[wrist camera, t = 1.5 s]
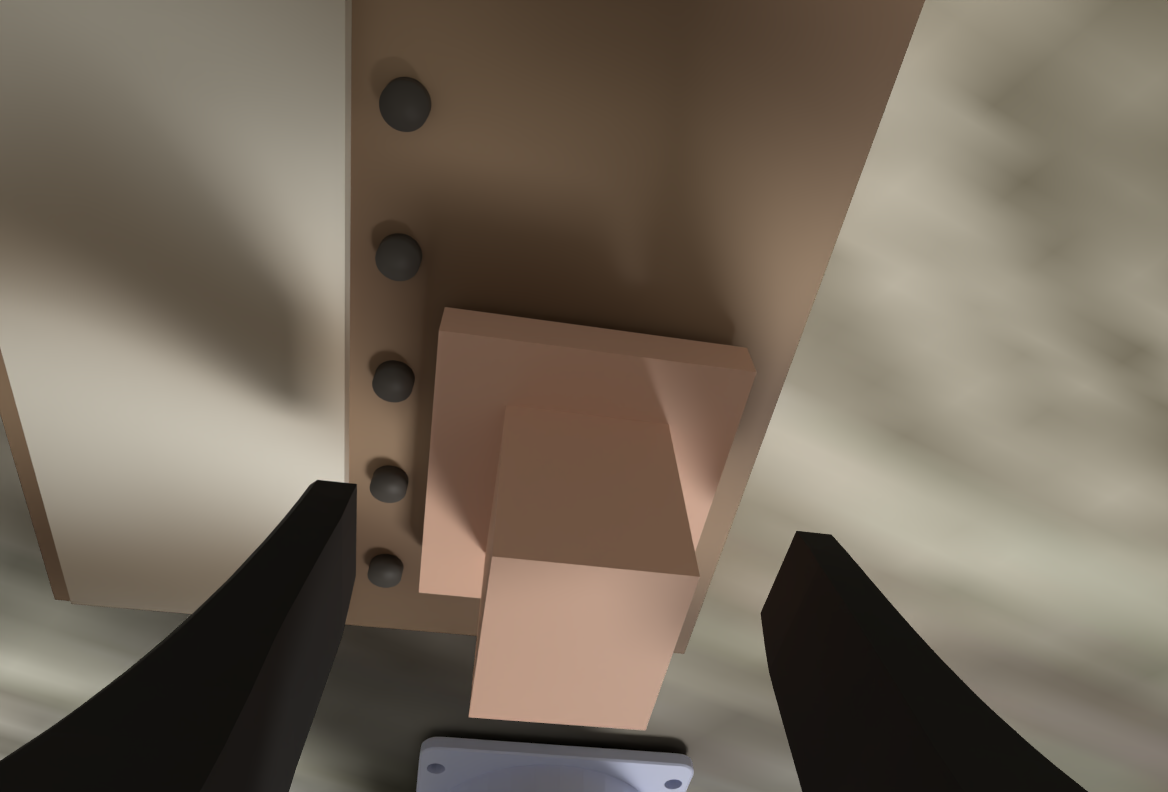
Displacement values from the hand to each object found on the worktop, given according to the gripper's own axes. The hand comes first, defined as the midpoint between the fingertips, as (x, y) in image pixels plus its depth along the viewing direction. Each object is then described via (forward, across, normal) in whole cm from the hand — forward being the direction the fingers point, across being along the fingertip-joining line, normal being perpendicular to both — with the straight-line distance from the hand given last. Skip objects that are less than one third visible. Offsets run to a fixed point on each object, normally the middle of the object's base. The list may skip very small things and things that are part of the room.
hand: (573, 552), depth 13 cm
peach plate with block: (+2, 0, 0) cm, 2 cm away
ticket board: (+4, +3, -2) cm, 6 cm away
